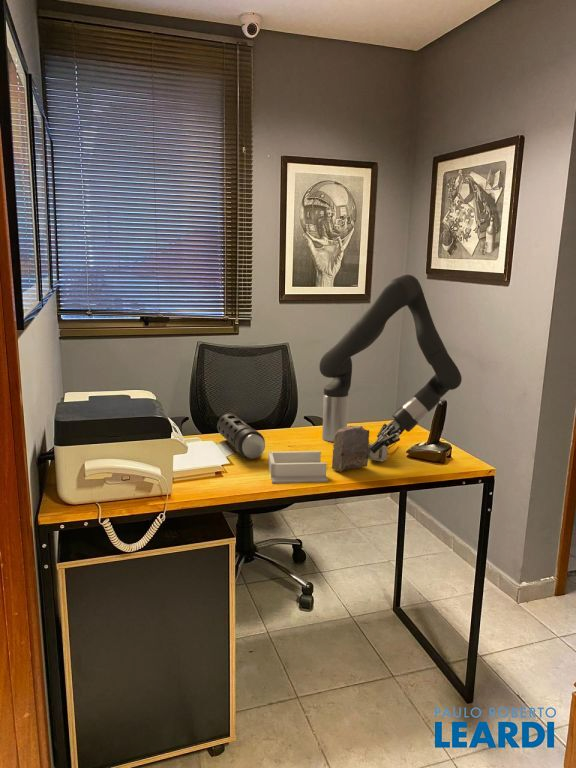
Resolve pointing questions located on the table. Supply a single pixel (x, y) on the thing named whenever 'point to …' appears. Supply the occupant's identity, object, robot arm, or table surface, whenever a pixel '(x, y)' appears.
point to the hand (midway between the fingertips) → (371, 450)
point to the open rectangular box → (296, 467)
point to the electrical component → (379, 453)
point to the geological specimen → (350, 448)
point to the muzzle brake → (241, 436)
